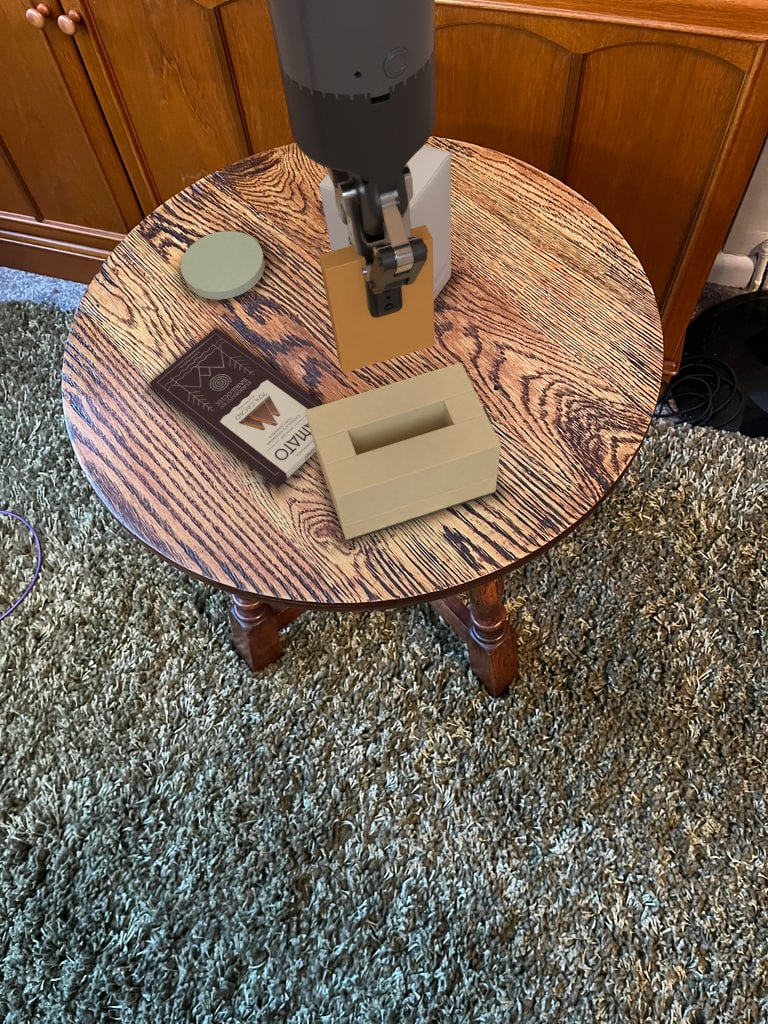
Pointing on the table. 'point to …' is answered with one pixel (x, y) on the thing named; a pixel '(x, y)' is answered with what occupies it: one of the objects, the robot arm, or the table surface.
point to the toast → (383, 336)
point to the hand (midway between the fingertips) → (381, 300)
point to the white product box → (412, 208)
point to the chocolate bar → (242, 405)
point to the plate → (223, 265)
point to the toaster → (405, 450)
